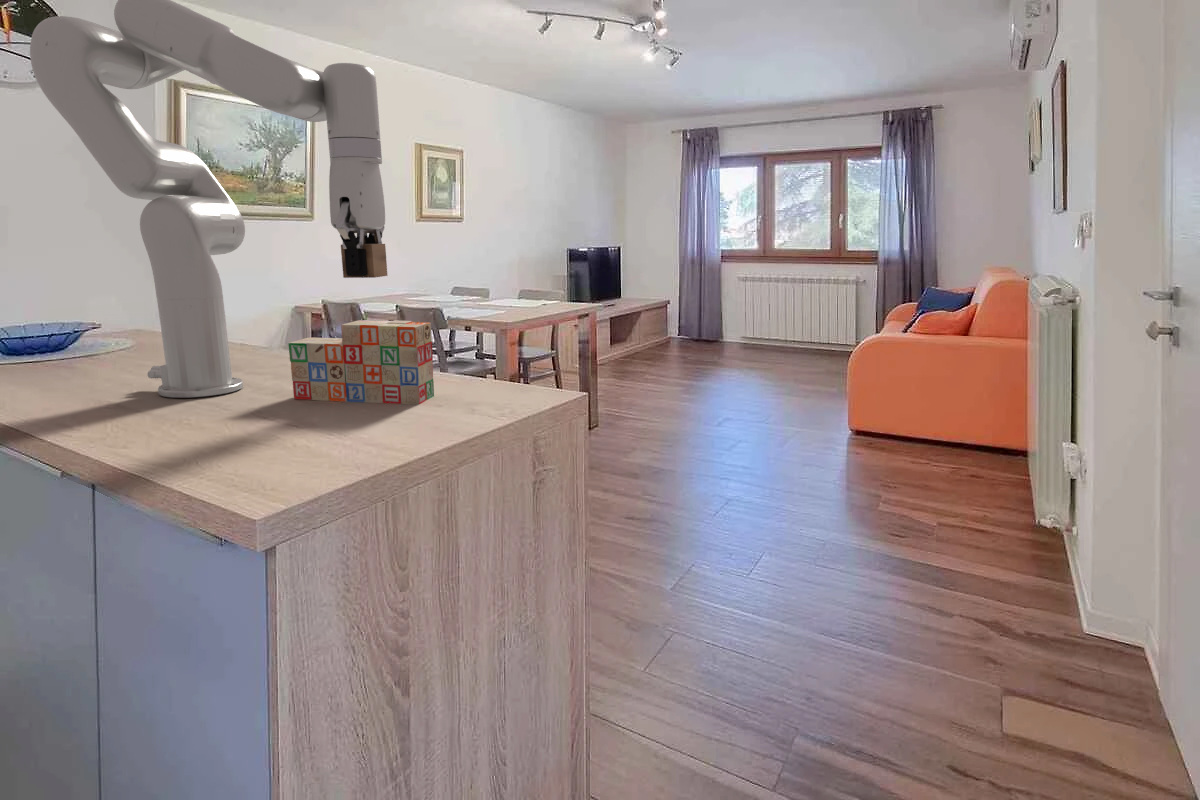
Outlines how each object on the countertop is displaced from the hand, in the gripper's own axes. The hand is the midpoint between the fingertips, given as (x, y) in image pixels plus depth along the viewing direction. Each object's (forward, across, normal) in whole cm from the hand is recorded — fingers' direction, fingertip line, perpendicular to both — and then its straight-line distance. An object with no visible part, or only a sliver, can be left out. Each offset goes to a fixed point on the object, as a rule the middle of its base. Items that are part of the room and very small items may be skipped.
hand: (365, 273), depth 117 cm
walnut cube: (+1, 0, 0) cm, 1 cm away
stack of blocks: (+20, +2, -1) cm, 20 cm away
